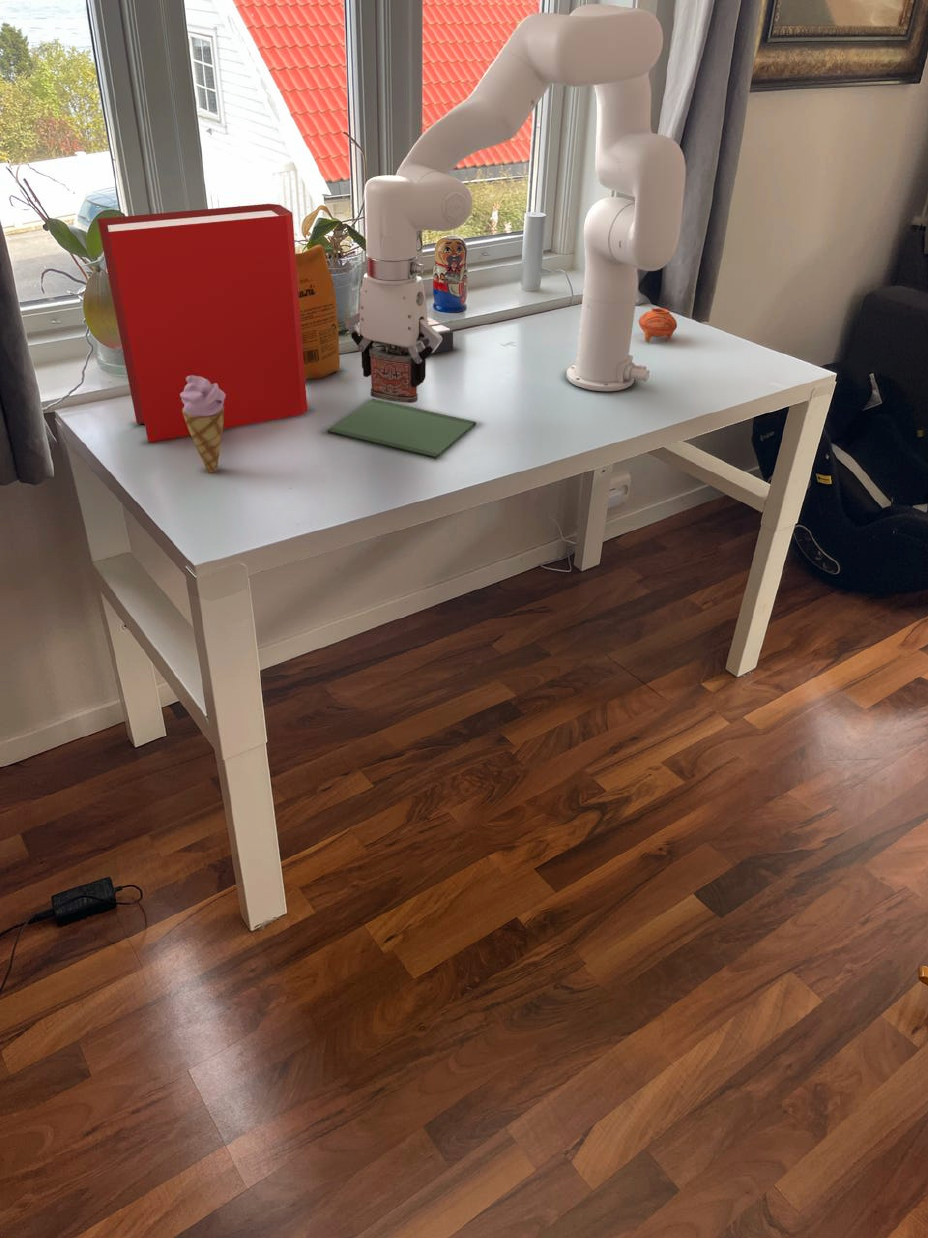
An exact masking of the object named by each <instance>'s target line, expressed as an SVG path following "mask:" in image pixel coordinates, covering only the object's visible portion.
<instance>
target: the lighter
mask: <svg viewBox="0 0 928 1238" xmlns="http://www.w3.org/2000/svg"><path fill="white" fill-rule="evenodd" d="M373 343H374V344H373V345H379V346H373V348H370V349H369V355H370V356H371V375H370V381H371V382H370V385H371V387H370V397H373V398H374V399H378V400H382V401H387V402H395V403H406V404H414V403H417V401H418V400H419V394H418V390H417V389H418V388H417V387H418V386H417V387H412V386H411V363H412V362H414V359H413V357H412V356H411V354H410V352H409V350H408V348H407V347H401V346H396V345H391V344H386V343H381V342H376V341H373Z"/></svg>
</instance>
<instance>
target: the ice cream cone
mask: <svg viewBox="0 0 928 1238" xmlns="http://www.w3.org/2000/svg"><path fill="white" fill-rule="evenodd" d="M186 381H187V382H188V384H187V385H186V386H185V388H184V391H183V392H182V393H180V397H181V399H182V402H183V403H184V407H183V409H182V412H183V415H184V418H185V421H186V424H187V426H188V429H189V432H190V434H191V435H190V436H191V439H192V441H193V443H194V446H195V448H196V450H197V452H198V455H199V456H200V459H201V461H202V463H203V465H204V467H205V469H206V471H207V473H209V474H214V473H215V474H216V472H218V465H219V459H220V453H221V447H222V439H223V431H224V429H223V420H224V405H223V403H224V399H225V397H226V395H225V393H224V392H223V391H222V390H220V389H219V387H218V384H217V383H215V384H210V382H209V381H208V380H207V379H205V378H203V377H198V376H194V375H192V376H188V377H187V378H186Z"/></svg>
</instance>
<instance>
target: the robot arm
mask: <svg viewBox="0 0 928 1238" xmlns="http://www.w3.org/2000/svg"><path fill="white" fill-rule="evenodd" d="M663 44H664V34H663V29H662V26H661V23H660V21H659V20H658V18H657V17H656V16H655V14H653V13H652V12H650V11H649V10H646V9H643V8H637V7H627V6H617V5H612V4H605V3H604V4H602V3H589V4H583V5H580V6H578V7H577V8H576V7H575V9H574V10H573V11H571V12H570V13H569V14H563V13H553V12H534V13H532V14H529V15H527V16H526V17H524V18H523V19H522V20H521V21H520V23H519V24H518V25H517V26H516V28H515V29H514V30H513V32H512V33H511V35H510V37H509V38H508V39H507V41H506V42H505V43H504V45H503V47H502V48H501V50H500V51H499V53H498V54H497V56H496V57H495V58H494V60H493V61H492V63H491V64H490V66H489V67H488V68H487V70H486V72H485V73H484V74H483V76H482V77H481V79H480V80H479V82H478V83H477V85H476V86H475V88H474V89H473V91H471V93H470V95H469V96H467V98H466V99H464V100H463V101H462V102H460V103H458V104H457V105H456V106H454V107H452V109H450V110H449V111H448V112H447V113H446V114H445V115H443V116H442V117H441V118H439V119H438V120H436V121H435V122H434V123H433V124H432V125H430V126H429V127H428V128H427V129H426V130H425V131H424V132H423V133H422V134H421V135H420V137H419V138H418V139H417V141H416V142H415V143H414V144H413V146H412V148H411V149H410V150H409V152H408V153H407V155H406V156H405V157H404V159H403V161H402V163H401V164H400V166H399V167H398V168H397V171H396V174H395V175H378V176H373V177H372V178H370V179H368V180H367V181H366V183H365V185H364V222H365V223H364V225H365V226H364V227H365V254H366V255H365V257H366V273H364V274H363V277H362V282H361V288H360V295H359V298H360V299H359V312H358V313H356V314H354V315H353V316H351V317H349V318H347V319H346V320H345V321H344V325H345V327H346V329H347V330H348V332H349V334H350V337H351V340H352V341H353V342H354V343H355V344H356V346H357V350H358V351H359V352H360V354H361V369H362V375H363V377H365V378H368V377H371V356H370V355H369V349H370V348H373V347H374V345H375V344H374V343H373V341H376V342H381V343H386V344H391V345H396V346H401V347H407V348H408V350H409V352H410V354H411V356H412V357H413V359H414V362H412V363H411V386H412V387H419V386H420V385H422V384H423V383H424V381H425V380H426V375H427V374H426V367H427V366H426V365H427V364H426V361H427V359H428V358H429V357H430V356H431V355H432V354H434V353H433V352H434V351H435V350H436V348H437V347H438V346H439V344H440V343H441V341H442V337H441V335H439V334H438V333H437V332H436V331H435V330H434V329H433V328H432V327H431V326H430V325H429V324H428V318H429V317H428V306H427V305H428V304H427V298H426V291H425V290H426V289H425V285H424V281H423V278H422V277H421V276H418V275H419V274H421V275H423V274H424V272H425V265H424V264H423V263H420V262H419V256H418V231H432V232H434V231H435V232H449V231H453V230H455V229H458V228H460V227H461V226H462V225H464V224H465V223H466V222H467V220H468V219H469V218H470V216H471V214H472V211H473V196H472V193H471V192H470V190H469V188H468V187H467V185H466V184H465V183H464V182H463V181H461V180H460V179H459V178H457V177H455V176H452V175H449V174H450V173H451V172H452V171H453V170H454V168H456V166H458V164H460V163H461V162H462V161H463V160H465V159H466V158H468V157H470V156H471V155H473V154H475V153H478V152H480V151H482V150H485V149H488V148H492V147H495V146H498V145H500V144H503V143H505V142H507V141H509V140H511V139H513V138H514V137H516V135H517V134H518V133H519V131H520V130H521V128H522V127H523V125H524V124H525V123H526V121H527V119H528V118H529V117H530V115H531V114H532V113H533V111H534V109H535V108H536V106H537V105H538V104H539V102H540V101H541V99H542V98H543V96H544V95H545V94H546V93H547V90H548V89H549V88H550V87H551V86H552V85H554V84H555V85H558V86H559V85H560V86H565V87H570V88H571V87H572V88H580V87H591V86H592V87H593V88H594V92H595V97H596V132H595V154H594V166H595V167H594V171H595V177H596V179H597V181H598V183H599V184H600V185H601V186H602V187H604V188H606V189H608V190H611V191H613V192H615V193H619V194H623V195H626V196H629V197H633V198H634V200H631V199H627V198H625V197H620V196H619V197H618V196H608V197H604V198H602V199H599V200H598V201H596V202H595V203H594V204H593V205H592V206H591V207H590V209H589V210H588V212H587V214H586V216H585V219H584V224H583V233H582V234H583V235H582V236H583V248H584V278H583V279H584V281H583V292H582V299H581V300H582V301H581V310H580V319H579V331H578V341H577V351H576V360H575V363H574V364H572V365H571V366H569V367H568V368H567V369H566V379H567V380H568V381H569V382H570V383H571V384H572V385H574V386H576V387H578V388H581V389H584V390H589V391H594V392H616V391H617V392H618V391H622V390H625V389H627V388H629V387H631V386H633V384H634V381H635V380H638V381H643V382H644V381H645V382H647V381H648V380H649V376H650V370H648V369H647V366H646V365H639V364H635V362H633V360H634V356H633V355H630V351H631V350H630V349H631V341H632V334H633V328H634V327H633V326H634V320H635V319H634V318H635V313H636V312H635V311H636V310H635V309H636V303H637V297H638V291H639V275H638V270H642V271H646V272H655V271H659V270H661V269H662V268H664V267H666V266H667V265H668V264H669V263H670V261H671V260H672V259H673V257H674V255H675V253H676V250H677V248H678V244H679V239H680V234H681V226H682V218H683V206H684V197H685V186H686V174H687V170H686V169H687V167H686V160H685V156H684V153H683V151H682V148H681V147H680V145H679V144H678V143H677V142H676V141H675V140H674V139H673V138H671V137H669V136H666V135H663V134H658V133H654V132H653V131H652V128H651V124H652V123H651V120H652V119H651V116H652V113H651V111H652V89H651V88H652V87H651V82H650V81H651V80H650V77H649V73H648V72H649V71H650V70H651V69H652V68H654V66H655V64H656V63H657V62H658V60H659V58H660V56H661V53H662V50H663V46H664V45H663ZM426 338H428V339H429V344H428V345H427V347H426V348H425V346H424V344H423V342H422V340H425V339H426Z"/></svg>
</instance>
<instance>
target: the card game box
mask: <svg viewBox="0 0 928 1238" xmlns="http://www.w3.org/2000/svg"><path fill="white" fill-rule="evenodd" d="M428 324H429V325H430V326H431V327H432V328H433V329H434V330H435V331H436V332H437V333H438V334H439V335H441V337H442V341H441V343H440V344H439V346H438V347H437V348H436V350H435V351H434V352H433V353H432V354H434V353H440V352H445V351H451V350H454V331H453V330H451V329H450V328H449V327H446V326H445V325H443V324H441V323H440V322H439V321H437V320H435V319H433V318H431V317H428ZM422 342H423V344H424V346H425V348H426V347H427V345H428V344H429V339H428V338H426V339H425V340H422Z"/></svg>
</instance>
